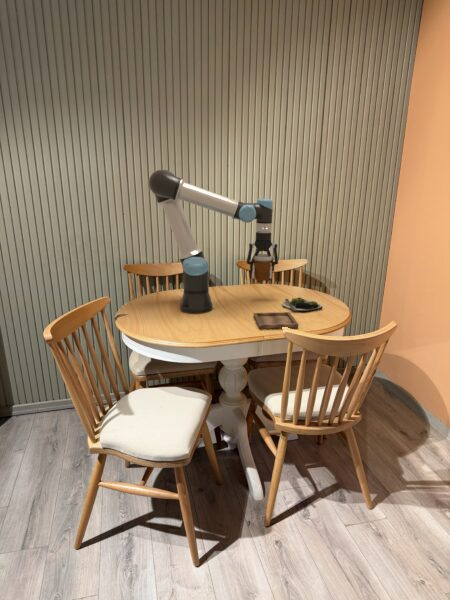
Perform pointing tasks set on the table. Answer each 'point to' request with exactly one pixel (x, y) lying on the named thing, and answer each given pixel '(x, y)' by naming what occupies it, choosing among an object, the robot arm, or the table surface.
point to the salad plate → (301, 305)
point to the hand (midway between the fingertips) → (261, 277)
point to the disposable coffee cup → (262, 266)
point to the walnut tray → (275, 320)
